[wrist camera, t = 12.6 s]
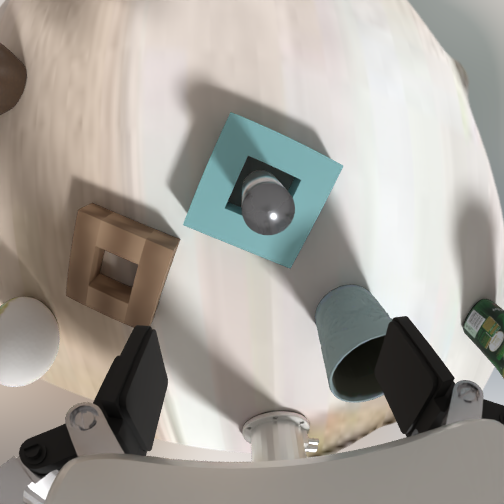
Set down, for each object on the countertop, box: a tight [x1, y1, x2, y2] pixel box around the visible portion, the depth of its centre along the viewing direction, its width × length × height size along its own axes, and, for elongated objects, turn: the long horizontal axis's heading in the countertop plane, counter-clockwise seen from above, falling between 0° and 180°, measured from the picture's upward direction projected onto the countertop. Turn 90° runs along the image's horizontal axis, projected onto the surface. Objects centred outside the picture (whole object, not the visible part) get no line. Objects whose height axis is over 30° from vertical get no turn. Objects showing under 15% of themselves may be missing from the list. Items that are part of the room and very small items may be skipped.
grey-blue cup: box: [315, 285, 393, 402], centre depth 31 cm, size 10×10×12 cm
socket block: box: [183, 112, 343, 269], centre depth 29 cm, size 12×12×4 cm
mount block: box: [66, 203, 180, 327], centre depth 32 cm, size 12×12×4 cm
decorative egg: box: [0, 297, 60, 387], centre depth 30 cm, size 12×12×15 cm
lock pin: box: [242, 170, 295, 235], centre depth 26 cm, size 4×4×10 cm
